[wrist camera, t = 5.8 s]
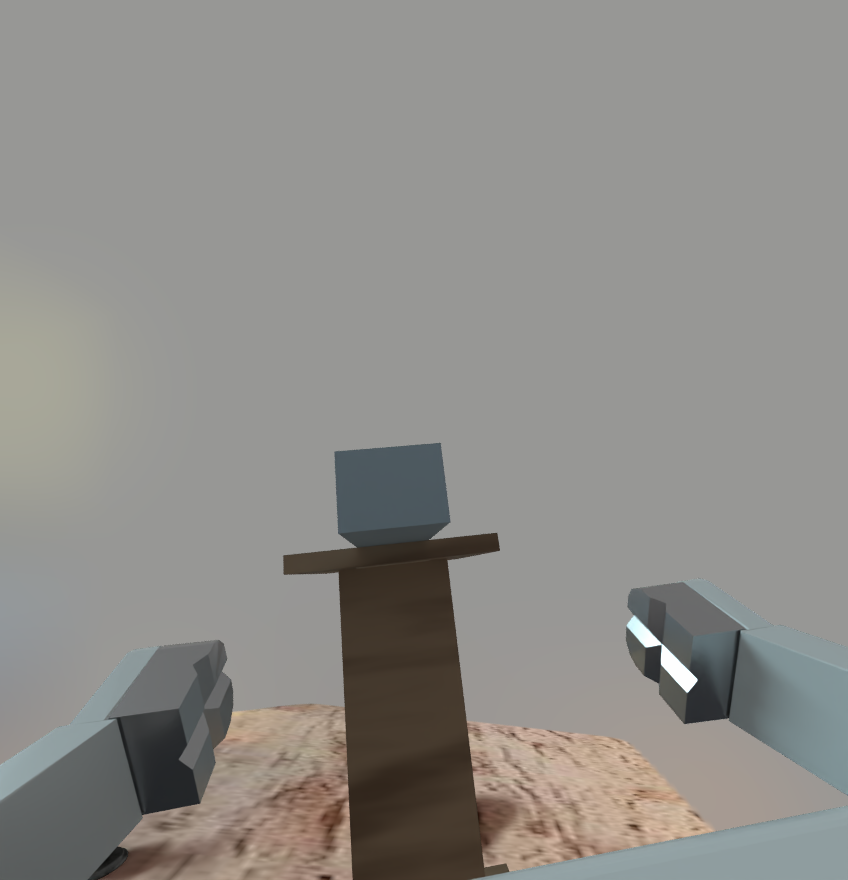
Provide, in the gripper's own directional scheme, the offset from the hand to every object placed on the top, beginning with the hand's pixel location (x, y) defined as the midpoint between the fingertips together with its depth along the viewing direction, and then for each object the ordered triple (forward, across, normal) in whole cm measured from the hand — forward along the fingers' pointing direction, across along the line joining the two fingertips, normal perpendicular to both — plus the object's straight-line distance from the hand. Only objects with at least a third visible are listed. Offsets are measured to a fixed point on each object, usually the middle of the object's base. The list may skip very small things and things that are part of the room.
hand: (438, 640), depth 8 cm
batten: (+17, 0, -7) cm, 18 cm away
